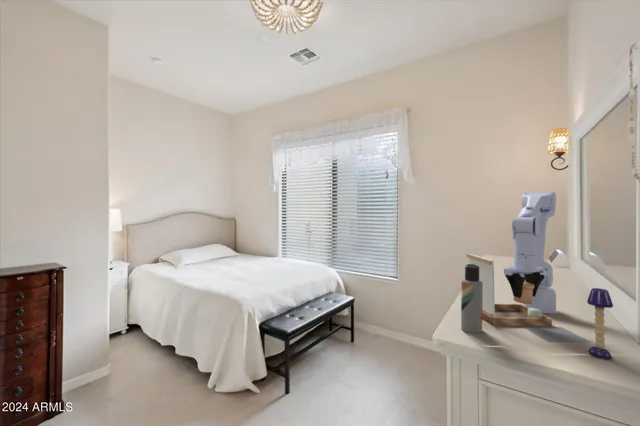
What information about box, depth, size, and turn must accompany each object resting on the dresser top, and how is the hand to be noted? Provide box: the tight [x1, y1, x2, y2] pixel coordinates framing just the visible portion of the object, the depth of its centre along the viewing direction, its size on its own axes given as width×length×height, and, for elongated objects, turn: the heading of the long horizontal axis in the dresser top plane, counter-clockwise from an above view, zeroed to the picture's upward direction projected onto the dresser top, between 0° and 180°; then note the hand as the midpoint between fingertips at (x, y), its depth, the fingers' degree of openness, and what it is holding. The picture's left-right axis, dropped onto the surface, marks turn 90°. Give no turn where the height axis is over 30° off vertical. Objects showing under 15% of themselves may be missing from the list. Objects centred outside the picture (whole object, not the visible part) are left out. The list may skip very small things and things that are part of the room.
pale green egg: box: [528, 308, 543, 318], centre depth 91 cm, size 4×4×4 cm
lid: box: [465, 253, 496, 318], centre depth 95 cm, size 18×14×1 cm
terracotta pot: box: [513, 282, 535, 305], centre depth 91 cm, size 5×5×6 cm
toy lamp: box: [587, 287, 614, 360], centre depth 71 cm, size 5×5×17 cm
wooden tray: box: [482, 303, 553, 327], centre depth 95 cm, size 18×14×3 cm
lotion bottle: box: [460, 263, 483, 334], centre depth 85 cm, size 6×6×20 cm
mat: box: [522, 326, 592, 343], centre depth 82 cm, size 12×10×1 cm
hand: (524, 296), depth 90 cm, fingers closed on terracotta pot, 5 cm apart
